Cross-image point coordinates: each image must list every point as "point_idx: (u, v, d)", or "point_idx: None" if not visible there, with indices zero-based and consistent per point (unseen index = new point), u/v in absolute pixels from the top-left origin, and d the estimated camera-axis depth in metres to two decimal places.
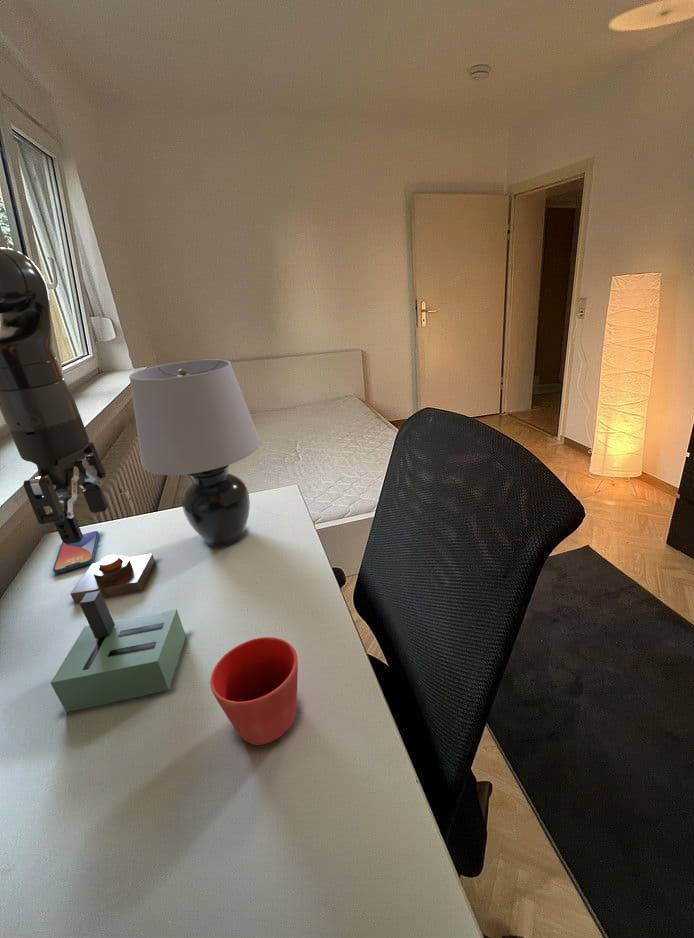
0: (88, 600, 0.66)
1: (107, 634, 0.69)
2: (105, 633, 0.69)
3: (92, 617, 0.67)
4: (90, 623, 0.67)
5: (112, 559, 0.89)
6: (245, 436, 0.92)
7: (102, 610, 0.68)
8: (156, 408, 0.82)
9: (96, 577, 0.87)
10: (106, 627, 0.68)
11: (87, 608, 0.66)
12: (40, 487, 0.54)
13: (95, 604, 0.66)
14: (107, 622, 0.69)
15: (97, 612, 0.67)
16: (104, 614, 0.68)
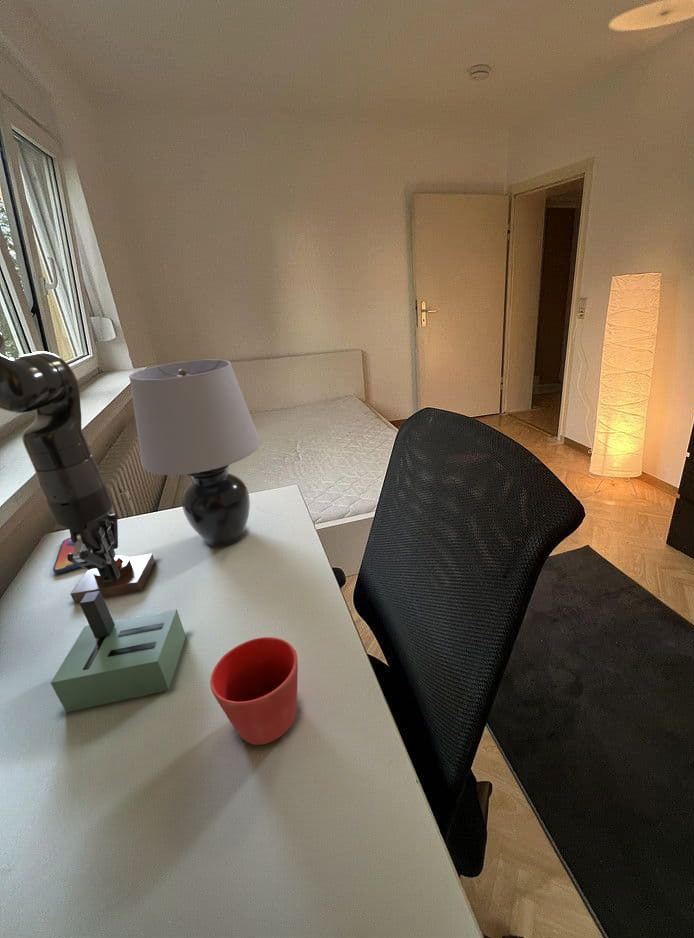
0: (88, 600, 0.66)
1: (107, 634, 0.69)
2: (105, 633, 0.69)
3: (92, 617, 0.67)
4: (90, 623, 0.67)
5: None
6: (245, 436, 0.92)
7: (102, 610, 0.68)
8: (156, 408, 0.82)
9: (96, 577, 0.87)
10: (106, 627, 0.68)
11: (87, 608, 0.66)
12: (82, 559, 0.66)
13: (95, 604, 0.66)
14: (107, 622, 0.69)
15: (97, 612, 0.67)
16: (104, 614, 0.68)
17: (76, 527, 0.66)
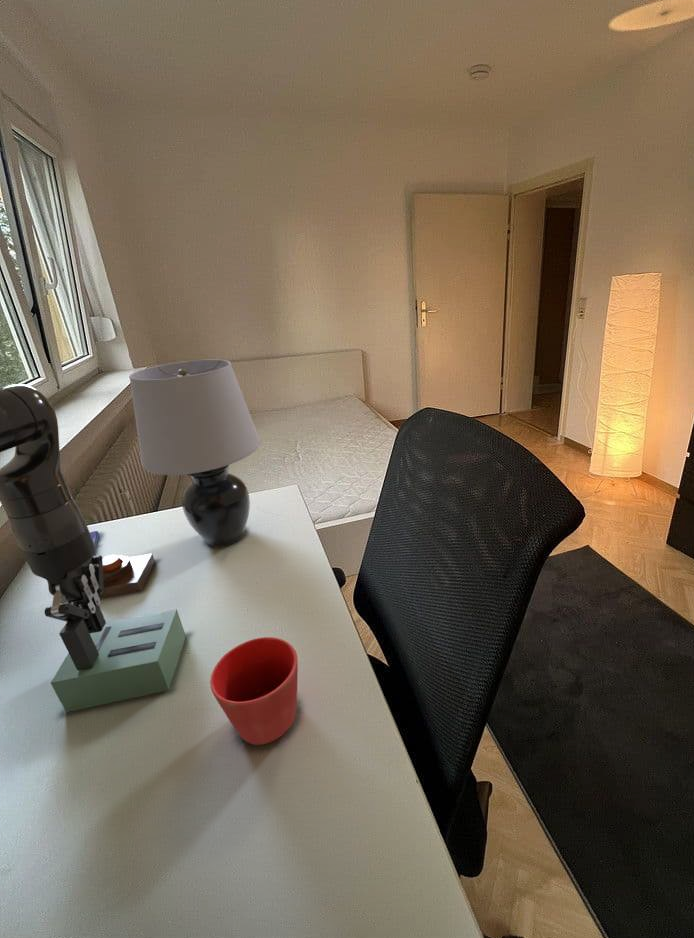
0: (69, 630, 0.61)
1: (90, 666, 0.63)
2: (88, 664, 0.63)
3: (73, 648, 0.62)
4: (71, 654, 0.62)
5: (112, 559, 0.89)
6: (245, 436, 0.92)
7: (84, 640, 0.62)
8: (156, 408, 0.82)
9: None
10: (89, 658, 0.63)
11: (68, 638, 0.61)
12: (62, 614, 0.59)
13: (76, 634, 0.61)
14: (90, 652, 0.63)
15: (78, 643, 0.61)
16: (87, 644, 0.63)
17: (54, 578, 0.59)
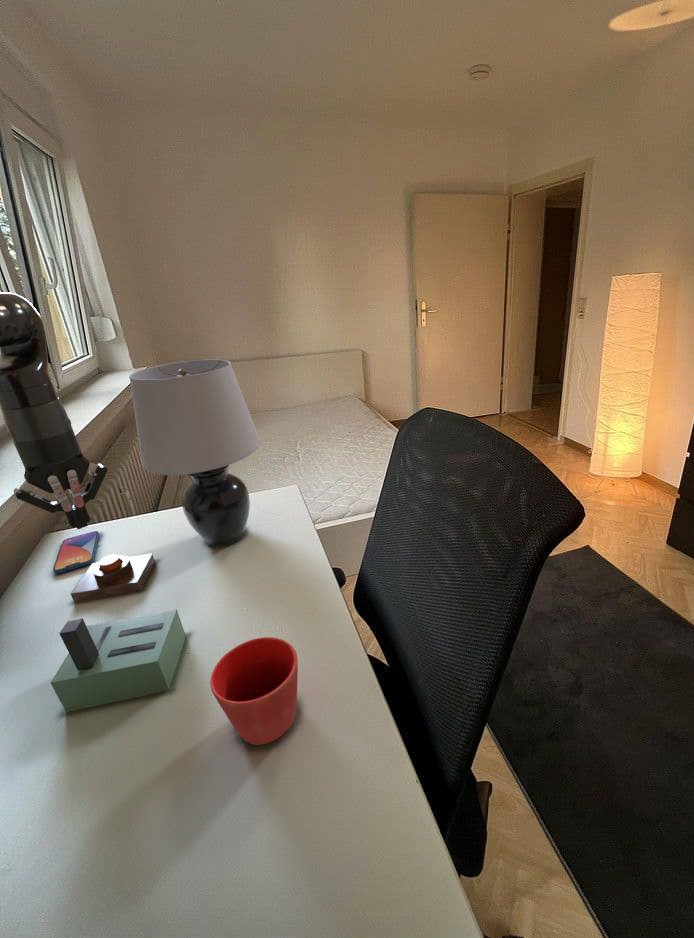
0: (69, 630, 0.61)
1: (90, 665, 0.63)
2: (88, 664, 0.63)
3: (73, 648, 0.62)
4: (71, 654, 0.62)
5: (112, 559, 0.89)
6: (245, 436, 0.92)
7: (85, 640, 0.62)
8: (156, 408, 0.82)
9: (96, 577, 0.87)
10: (89, 658, 0.63)
11: (68, 638, 0.61)
12: None
13: (77, 634, 0.61)
14: (90, 652, 0.63)
15: (79, 643, 0.61)
16: (87, 644, 0.63)
17: (24, 467, 0.68)
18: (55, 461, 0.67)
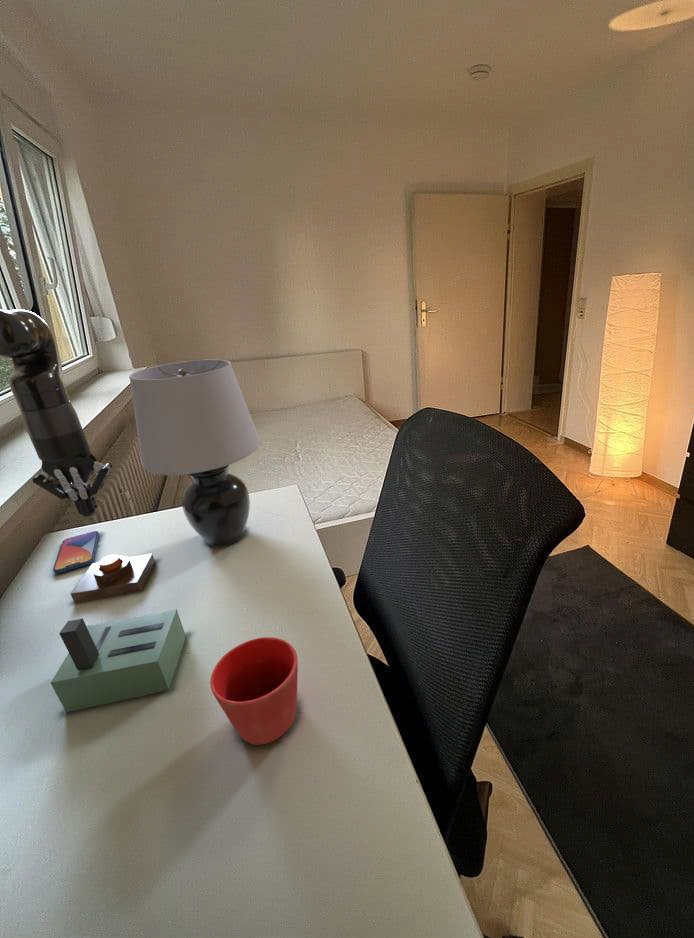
0: (69, 630, 0.61)
1: (90, 665, 0.63)
2: (88, 664, 0.63)
3: (73, 648, 0.62)
4: (71, 654, 0.62)
5: (112, 559, 0.89)
6: (245, 436, 0.92)
7: (85, 640, 0.62)
8: (156, 408, 0.82)
9: (96, 577, 0.87)
10: (89, 658, 0.63)
11: (68, 638, 0.61)
12: None
13: (77, 634, 0.61)
14: (90, 652, 0.63)
15: (79, 643, 0.61)
16: (87, 644, 0.63)
17: None
18: (52, 459, 0.76)
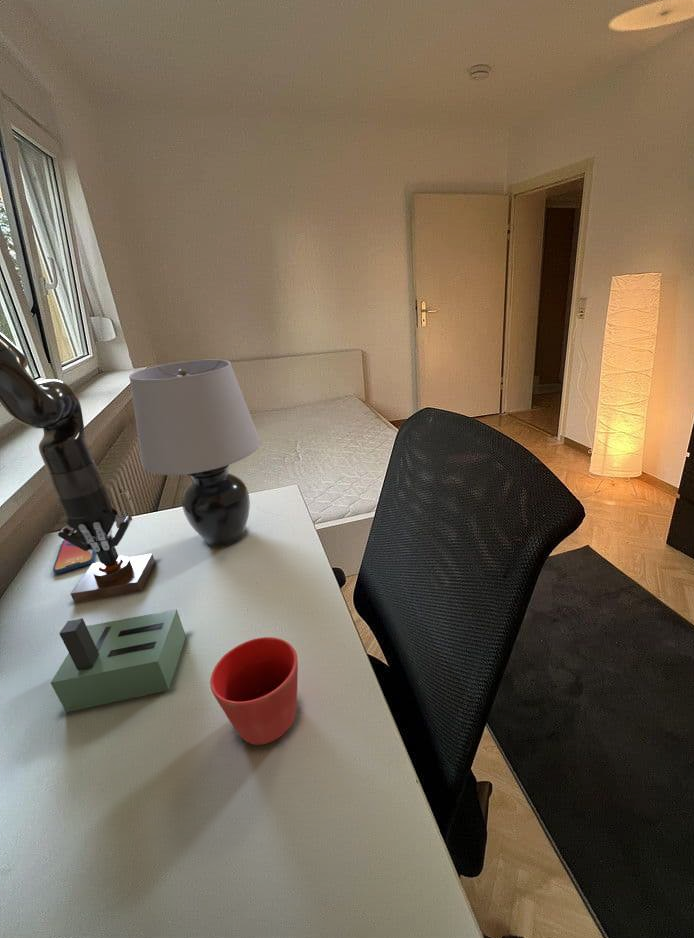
0: (69, 630, 0.61)
1: (90, 665, 0.63)
2: (88, 664, 0.63)
3: (73, 648, 0.62)
4: (71, 654, 0.62)
5: None
6: (245, 436, 0.92)
7: (85, 640, 0.62)
8: (156, 408, 0.82)
9: (96, 577, 0.87)
10: (89, 658, 0.63)
11: (68, 638, 0.61)
12: None
13: (77, 634, 0.61)
14: (90, 652, 0.63)
15: (79, 643, 0.61)
16: (87, 644, 0.63)
17: None
18: (78, 516, 0.81)
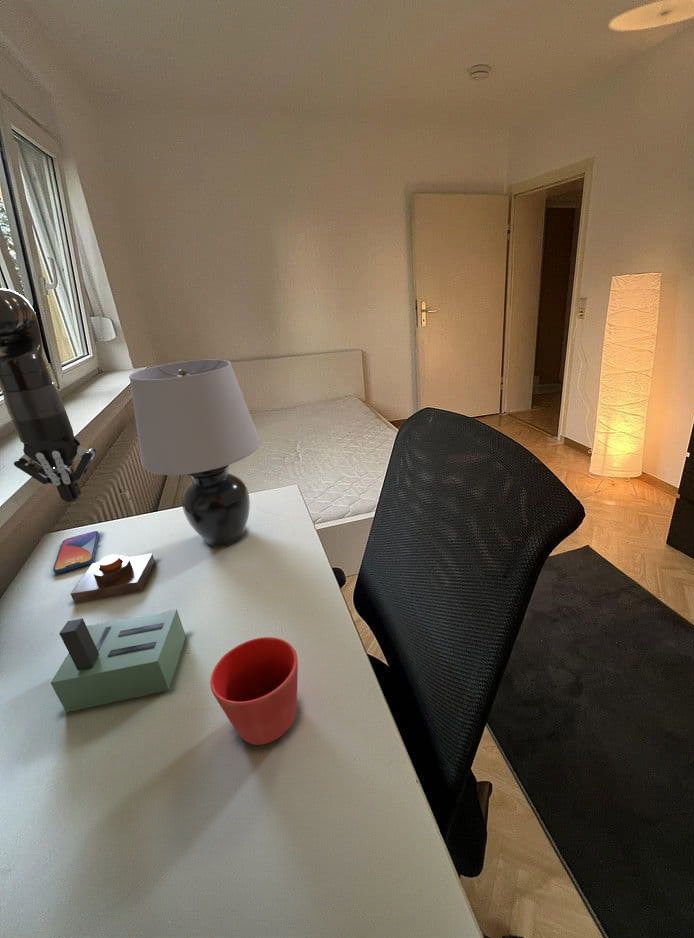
0: (69, 630, 0.61)
1: (90, 665, 0.63)
2: (88, 664, 0.63)
3: (73, 648, 0.62)
4: (71, 654, 0.62)
5: (112, 559, 0.89)
6: (245, 436, 0.92)
7: (85, 640, 0.62)
8: (156, 408, 0.82)
9: (96, 577, 0.87)
10: (89, 658, 0.63)
11: (68, 638, 0.61)
12: None
13: (77, 634, 0.61)
14: (90, 652, 0.63)
15: (79, 643, 0.61)
16: (87, 644, 0.63)
17: None
18: (34, 441, 0.75)
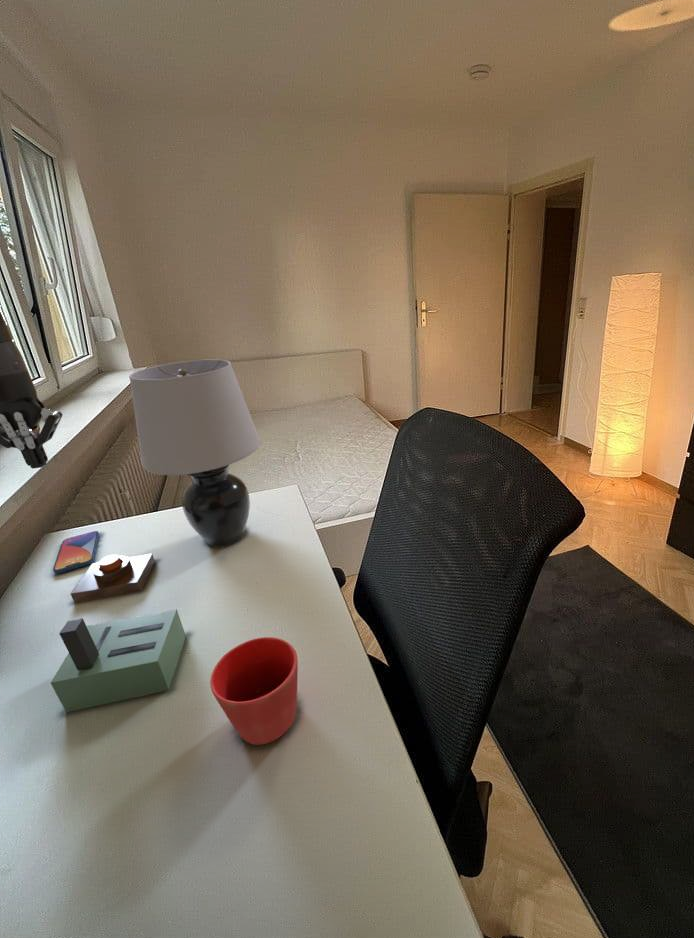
0: (69, 630, 0.61)
1: (90, 665, 0.63)
2: (88, 664, 0.63)
3: (73, 648, 0.62)
4: (71, 654, 0.62)
5: (112, 559, 0.89)
6: (245, 436, 0.92)
7: (85, 640, 0.62)
8: (156, 408, 0.82)
9: (96, 577, 0.87)
10: (89, 658, 0.63)
11: (68, 638, 0.61)
12: None
13: (77, 634, 0.61)
14: (90, 652, 0.63)
15: (79, 643, 0.61)
16: (87, 644, 0.63)
17: None
18: None
